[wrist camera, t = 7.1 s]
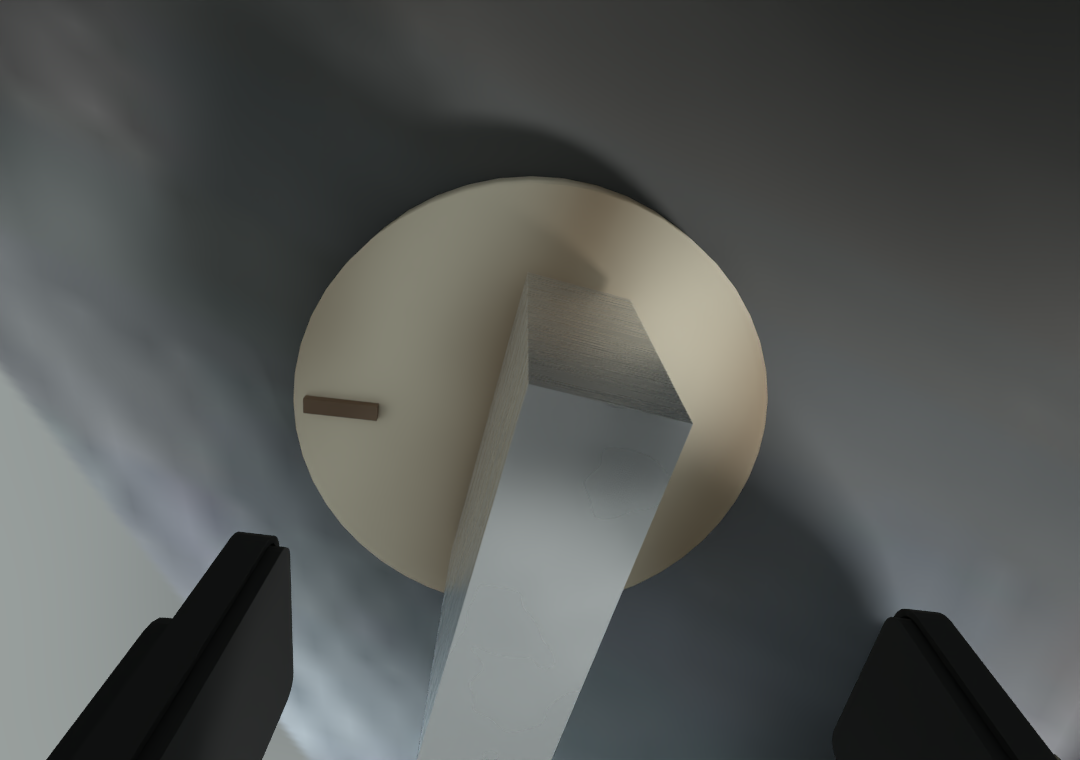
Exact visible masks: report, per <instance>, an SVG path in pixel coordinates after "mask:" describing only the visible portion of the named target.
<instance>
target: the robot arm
mask: <svg viewBox="0 0 1080 760" xmlns="http://www.w3.org/2000/svg"><path fill="white" fill-rule="evenodd" d="M292 682H293V643H292V608H291V572H290V551H289V549H288V548H287V547H279V541H278V538H277V537H276V536H271V535H262V534H254V533H245V532H237V533H235V534H234V535H233V536H232V537H231V538H230V539H229V541H228V542H227V544H226V545H225V546H224V548H223V549H222V551H221V552H220V553H219V555H218V556H217V558H216V559H215V560H214V562H213V563H212V564H211V566H210V567H209V569H208V570H207V571H206V573H205V574H204V576H203V577H202V578H201V580H200V581H199V583H198V584H197V585H196V587H195V588H194V590H193V591H192V592H191V594H190V595H189V596H188V598H187V599H186V601H185V602H184V603H183V605H182V606H181V608H180V609H179V610H178V612H177V613H176V615H175V616H174V617H173V618H158V619H156V620H155V621H153V622H152V623H151V624H150V625H149V626H148V627H147V628H146V629H145V630H144V631H143V633H142V634H141V635H140V636H139V638H138V639H137V640H136V642H135V643H134V644H133V646H132V647H131V648H130V650H129V651H128V652H127V654H126V655H125V656H124V658H123V659H122V660H121V662H120V663H119V664H118V666H117V667H116V668H115V670H114V671H113V672H112V674H111V675H110V676H109V677H108V679H107V680H106V682H105V683H104V684H103V685H102V687H101V688H100V689H99V691H98V692H97V693H96V695H95V696H94V697H93V699H92V700H91V701H90V703H89V704H88V705H87V707H86V708H85V709H84V711H83V712H82V713H81V714H80V716H79V717H78V718H77V720H76V721H75V722H74V724H73V725H72V726H71V728H70V729H69V730H68V732H67V733H66V734H65V736H64V737H63V738H62V740H61V741H60V742H59V744H58V745H57V746H56V748H55V749H54V750H53V752H52V753H51V754H50V756H49V757H48V758H47V759H46V760H262V758H263V756H264V754H265V751H266V749H267V746H268V744H269V742H270V740H271V737H272V735H273V733H274V730H275V728H276V726H277V723H278V721H279V719H280V716H281V714H282V712H283V709H284V707H285V705H286V703H287V700H288V697H289V694H290V691H291V687H292ZM832 745H833V751H834V755H835V758H836V760H1057V758H1056V757H1055V756H1054V754H1053V753H1052V752H1051V750H1050V749H1049V748H1048V747H1047V745H1046V744H1045V743H1044V741H1043V740H1042V739H1041V738H1040V736H1039V735H1038V734H1037V732H1036V731H1035V730H1034V728H1033V727H1032V726H1031V725H1030V723H1029V722H1028V721H1027V719H1026V718H1025V717H1024V715H1023V714H1022V713H1021V712H1020V710H1019V709H1018V708H1017V706H1016V705H1015V704H1014V702H1013V701H1012V700H1011V699H1010V697H1009V696H1008V695H1007V693H1006V692H1005V691H1004V690H1003V688H1002V687H1001V686H1000V684H999V683H998V682H997V680H996V679H995V678H994V677H993V675H992V674H991V673H990V671H989V670H988V669H987V667H986V666H985V665H984V664H983V662H982V661H981V660H980V658H979V657H978V656H977V654H976V653H975V652H974V651H973V649H972V648H971V647H970V645H969V644H968V643H967V642H966V640H965V639H964V638H963V636H962V635H961V634H960V632H959V631H958V630H957V629H956V627H955V626H954V625H953V623H952V622H951V621H950V620H949V619H948V618H947V617H946V616H945V615H943V614H941V613H938V612H929V611H920V610H912V609H901V610H899V611H898V612H897V613H896V614H895V616H894V617H890V618H888V619H887V620H886V621H885V623H884V625H883V627H882V629H881V631H880V633H879V635H878V637H877V640H876V642H875V644H874V646H873V648H872V650H871V652H870V654H869V657H868V659H867V661H866V663H865V665H864V667H863V669H862V672H861V674H860V676H859V678H858V680H857V682H856V684H855V686H854V689H853V691H852V693H851V695H850V697H849V699H848V701H847V704H846V706H845V708H844V710H843V712H842V714H841V716H840V718H839V721H838V723H837V725H836V727H835V729H834V732H833V738H832Z"/></svg>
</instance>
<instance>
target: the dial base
mask: <svg viewBox="0 0 1080 760" xmlns="http://www.w3.org/2000/svg"><path fill="white" fill-rule="evenodd" d="M528 272H529V273H532V274H536V275H540V276H544V277H547V278H551V279H555V280H559V281H562V282H566V283H570V284H574V285H577V286H581V287H585V288H589V289H592V290H596V291H600V292H604V293H607V294H611V295H615V296H619V297H622V298H626V299H630V301H631V303H632V305H633V307H634V309H635V311H636V313H637V315H638V317H639V319H640V321H641V323H642V325H643V327H644V329H645V330H646V332H647V334H648V336H649V338H650V340H651V342H652V344H653V346H654V348H655V350H656V352H657V354H658V356H659V358H660V360H661V362H662V364H663V366H664V368H665V370H666V372H667V374H668V376H669V378H670V380H671V382H672V384H673V386H674V388H675V390H676V392H677V394H678V396H679V398H680V399H681V401H682V403H683V405H684V407H685V409H686V411H687V413H688V415H689V417H690V419H691V421H692V423H693V425H692V428H691V430H690V432H689V435H688V437H687V439H686V442H685V444H684V447H683V449H682V451H681V454H680V456H679V458H678V461H677V463H676V466H675V468H674V470H673V473H672V475H671V477H670V480H669V482H668V484H667V487H666V489H665V492H664V494H663V496H662V499H661V501H660V503H659V506H658V508H657V511H656V513H655V515H654V518H653V520H652V522H651V525H650V527H649V530H648V532H647V534H646V537H645V539H644V541H643V544H642V546H641V549H640V551H639V553H638V556H637V558H636V560H635V563H634V565H633V568H632V570H631V572H630V575H629V577H628V579H627V582H626V584H625V587H624V589H627V588H629V587H632V586H634V585H637V584H639V583H641V582H643V581H645V580H646V579H648V578H650V577H652V576H654V575H656V574H658V573H660V572H661V571H663V570H665V569H666V568H668V567H669V566H671V565H672V564H674V563H675V562H677V561H678V560H680V559H681V558H682V557H684V556H685V555H686V554H687V553H688V552H690V551H691V550H692V549H693V548H694V547H696V546H697V545H698V544H699V543H700V542H702V541H703V540H704V539H705V537H706V536H707V535H708V534H709V533H710V532H711V531H712V530H713V529H714V528H715V527H716V526H717V525H718V524H719V523H720V521H721V520H722V519H723V517H724V516H725V515H726V513H727V512H728V511H729V509H730V508H731V507H732V505H733V504H734V503H735V501H736V500H737V498H738V496H739V494H740V492H741V491H742V489H743V487H744V485H745V483H746V482H747V480H748V478H749V476H750V473H751V471H752V468H753V465H754V463H755V460H756V458H757V455H758V453H759V449H760V445H761V441H762V436H763V432H764V428H765V420H766V410H767V399H768V398H767V379H766V368H765V363H764V358H763V353H762V349H761V344H760V341H759V338H758V335H757V332H756V330H755V327H754V324H753V322H752V319H751V316H750V314H749V312H748V310H747V309H746V307H745V305H744V303H743V301H742V299H741V298H740V296H739V294H738V292H737V290H736V289H735V287H734V286H733V285H732V283H731V282H730V281H729V279H728V278H727V277H726V275H725V274H724V273H723V272H722V270H721V269H720V268H719V266H718V265H717V264H716V263H715V262H714V261H713V260H712V259H711V258H710V257H709V256H708V255H707V254H706V253H705V252H704V251H703V250H702V249H701V248H700V247H699V246H698V245H697V244H696V243H695V242H694V241H693V240H691V239H690V238H689V237H688V236H687V235H686V234H685V233H683V232H682V231H681V230H680V229H679V228H677V227H676V226H675V225H673V224H672V223H670V222H669V221H668V220H666V219H665V218H664V217H662V216H661V215H659V214H658V213H657V212H655V211H654V210H652V209H650V208H648V207H646V206H644V205H642V204H641V203H639V202H637V201H635V200H633V199H631V198H629V197H627V196H625V195H622V194H619V193H617V192H614V191H611V190H608V189H606V188H603V187H600V186H597V185H593V184H589V183H584V182H579V181H574V180H570V179H565V178H552V177H538V176H525V177H510V178H497V179H493V180H488V181H483V182H478V183H473V184H468V185H465V186H462V187H459V188H456V189H454V190H451V191H448V192H445V193H442V194H439V195H437V196H435V197H433V198H431V199H429V200H427V201H425V202H423V203H421V204H419V205H417V206H415V207H414V208H412V209H410V210H408V211H407V212H405V213H404V214H402V215H401V216H400V217H398V218H397V219H395V220H394V221H393V222H391V223H390V224H388V225H387V226H386V227H384V228H383V229H382V230H381V231H380V232H379V233H377V234H376V235H375V236H374V237H373V238H372V239H371V240H370V241H369V242H368V243H367V244H366V245H365V246H364V247H363V248H362V249H361V250H360V251H359V252H357V253H356V254H355V255H354V256H353V257H352V258H351V259H350V260H349V261H348V262H347V263H346V264H345V265H344V267H343V268H342V269H341V271H340V272H339V273H338V274H337V276H336V277H335V278H334V280H333V281H332V282H331V283H330V285H329V286H328V287H327V289H326V290H325V292H324V294H323V296H322V298H321V299H320V301H319V303H318V305H317V306H316V308H315V310H314V312H313V314H312V315H311V318H310V321H309V323H308V326H307V329H306V331H305V334H304V337H303V339H302V342H301V345H300V350H299V355H298V360H297V365H296V370H295V380H294V399H293V402H294V413H295V423H296V430H297V435H298V439H299V443H300V447H301V451H302V455H303V458H304V460H305V462H306V465H307V467H308V470H309V472H310V475H311V477H312V480H313V482H314V484H315V485H316V487H317V489H318V491H319V492H320V494H321V496H322V498H323V499H324V501H325V503H326V504H327V506H328V507H329V508H330V510H331V511H332V512H333V514H334V515H335V516H336V518H337V519H338V520H339V522H340V523H341V524H342V526H343V527H344V528H345V529H346V530H347V531H348V532H349V533H350V534H351V535H352V536H353V537H354V538H355V539H356V540H357V541H358V542H359V543H360V544H361V545H362V546H363V547H365V548H366V549H367V550H368V551H370V552H371V553H372V554H373V555H375V556H376V557H377V558H378V559H380V560H381V561H382V562H384V563H385V564H387V565H388V566H390V567H392V568H393V569H395V570H396V571H398V572H400V573H401V574H403V575H404V576H406V577H408V578H410V579H413V580H415V581H417V582H419V583H421V584H423V585H425V586H427V587H429V588H432V589H435V590H437V591H440V592H443V593H444V591H445V585H446V579H447V572H448V566H449V560H450V554H451V550H452V546H453V543H454V539H455V535H456V532H457V528H458V524H459V521H460V517H461V513H462V510H463V506H464V502H465V499H466V495H467V491H468V488H469V484H470V481H471V477H472V473H473V470H474V466H475V462H476V459H477V455H478V451H479V448H480V444H481V440H482V437H483V433H484V429H485V426H486V422H487V419H488V415H489V411H490V408H491V404H492V400H493V397H494V393H495V389H496V386H497V382H498V378H499V375H500V371H501V367H502V364H503V360H504V356H505V353H506V349H507V346H508V342H509V338H510V335H511V331H512V327H513V324H514V320H515V316H516V313H517V309H518V305H519V302H520V298H521V294H522V291H523V287H524V284H525V280H526V276H527V273H528ZM624 589H623V590H624Z"/></svg>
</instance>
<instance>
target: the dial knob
mask: <svg viewBox="0 0 1080 760" xmlns="http://www.w3.org/2000/svg"><path fill="white" fill-rule="evenodd" d="M692 425H693V423H692V421H691V419H690V417H689V415H688V413H687V411H686V409H685V407H684V405H683V403H682V401H681V399H680V398H679V396H678V394H677V392H676V390H675V388H674V386H673V384H672V382H671V380H670V378H669V376H668V374H667V372H666V370H665V368H664V366H663V364H662V362H661V360H660V358H659V356H658V354H657V352H656V350H655V348H654V346H653V344H652V342H651V340H650V338H649V336H648V334H647V332H646V330H645V329H644V327H643V325H642V323H641V321H640V319H639V317H638V315H637V313H636V311H635V309H634V307H633V305H632V303H631V301H630V299H626V298H622V297H619V296H615V295H611V294H607V293H604V292H600V291H596V290H592V289H589V288H585V287H581V286H577V285H574V284H570V283H566V282H562V281H559V280H555V279H551V278H547V277H544V276H540V275H536V274H532V273H529V272H528V273H527V276H526V280H525V284H524V287H523V291H522V294H521V298H520V302H519V305H518V309H517V313H516V316H515V320H514V324H513V327H512V331H511V335H510V338H509V342H508V346H507V349H506V353H505V356H504V360H503V364H502V367H501V371H500V375H499V378H498V382H497V386H496V389H495V393H494V397H493V400H492V404H491V408H490V411H489V415H488V419H487V422H486V426H485V429H484V433H483V437H482V440H481V444H480V448H479V451H478V455H477V459H476V462H475V466H474V470H473V473H472V477H471V481H470V484H469V488H468V491H467V495H466V499H465V502H464V506H463V510H462V513H461V517H460V521H459V524H458V528H457V532H456V535H455V539H454V543H453V546H452V550H451V554H450V560H449V566H448V572H447V579H446V585H445V591H444V597H443V603H442V609H441V615H440V621H439V627H438V633H437V639H436V645H435V651H434V658H433V664H432V670H431V676H430V682H429V688H428V694H427V700H426V706H425V712H424V718H423V724H422V730H421V737H420V743H419V749H418V755H417V760H552V757H553V755H554V753H555V750H556V748H557V745H558V743H559V741H560V738H561V736H562V734H563V731H564V729H565V726H566V724H567V722H568V719H569V717H570V715H571V712H572V710H573V708H574V705H575V703H576V700H577V698H578V696H579V693H580V691H581V689H582V686H583V684H584V681H585V679H586V677H587V674H588V672H589V670H590V667H591V665H592V662H593V660H594V658H595V655H596V653H597V651H598V648H599V646H600V643H601V641H602V639H603V636H604V634H605V632H606V629H607V627H608V624H609V622H610V620H611V617H612V615H613V613H614V610H615V608H616V605H617V603H618V601H619V598H620V596H621V594H622V591H623V589H624V587H625V584H626V582H627V579H628V577H629V575H630V572H631V570H632V568H633V565H634V563H635V560H636V558H637V556H638V553H639V551H640V549H641V546H642V544H643V541H644V539H645V537H646V534H647V532H648V530H649V527H650V525H651V522H652V520H653V518H654V515H655V513H656V511H657V508H658V506H659V503H660V501H661V499H662V496H663V494H664V492H665V489H666V487H667V484H668V482H669V480H670V477H671V475H672V473H673V470H674V468H675V466H676V463H677V461H678V458H679V456H680V454H681V451H682V449H683V447H684V444H685V442H686V439H687V437H688V435H689V432H690V430H691V428H692Z"/></svg>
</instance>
